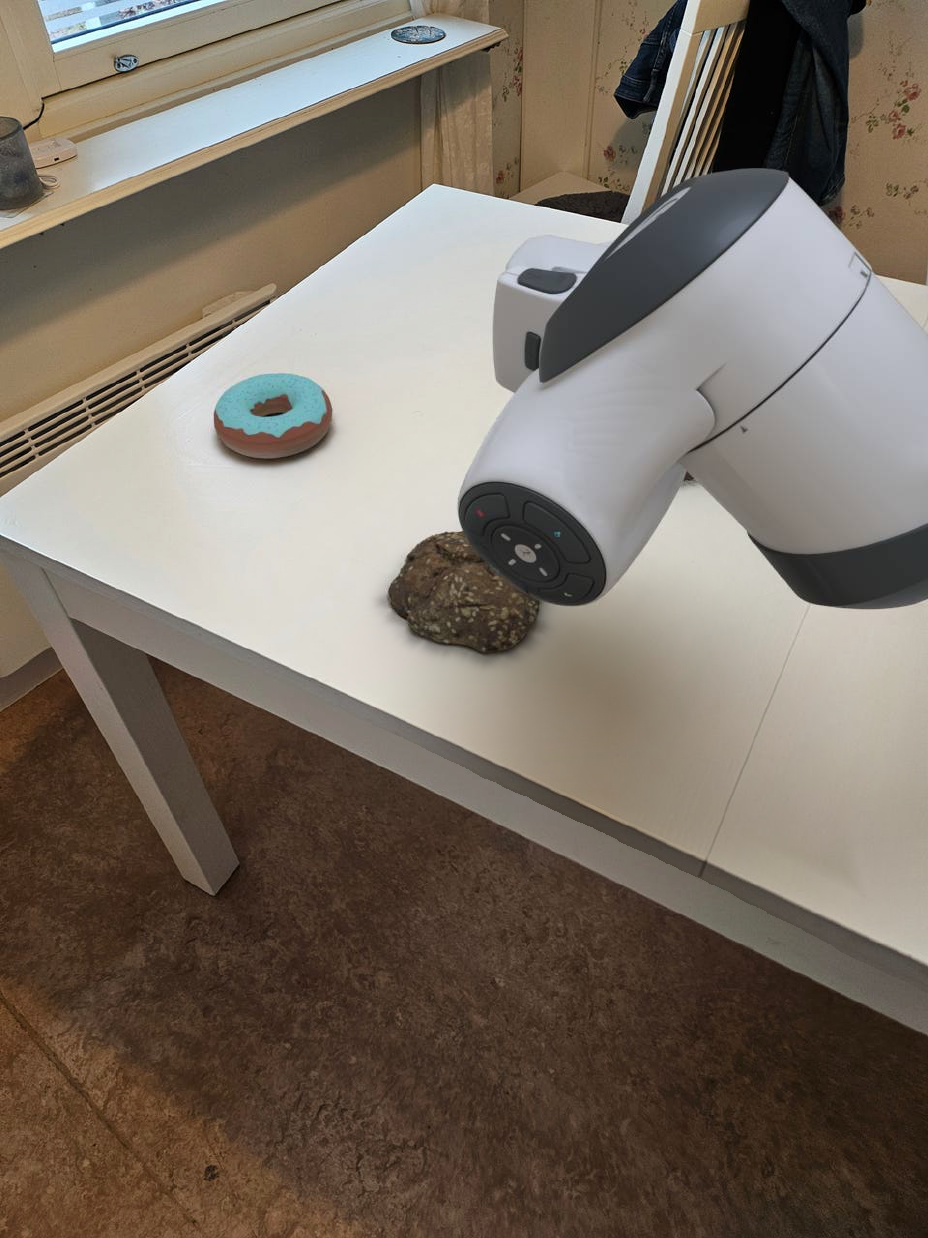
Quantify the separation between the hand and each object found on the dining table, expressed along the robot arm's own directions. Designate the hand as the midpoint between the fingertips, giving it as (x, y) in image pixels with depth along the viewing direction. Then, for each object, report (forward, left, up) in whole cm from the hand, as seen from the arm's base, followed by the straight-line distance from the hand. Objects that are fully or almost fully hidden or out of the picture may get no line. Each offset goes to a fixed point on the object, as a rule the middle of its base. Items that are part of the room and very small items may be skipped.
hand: (713, 257), depth 54 cm
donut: (+31, -28, -28) cm, 50 cm away
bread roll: (+16, -1, -28) cm, 32 cm away
